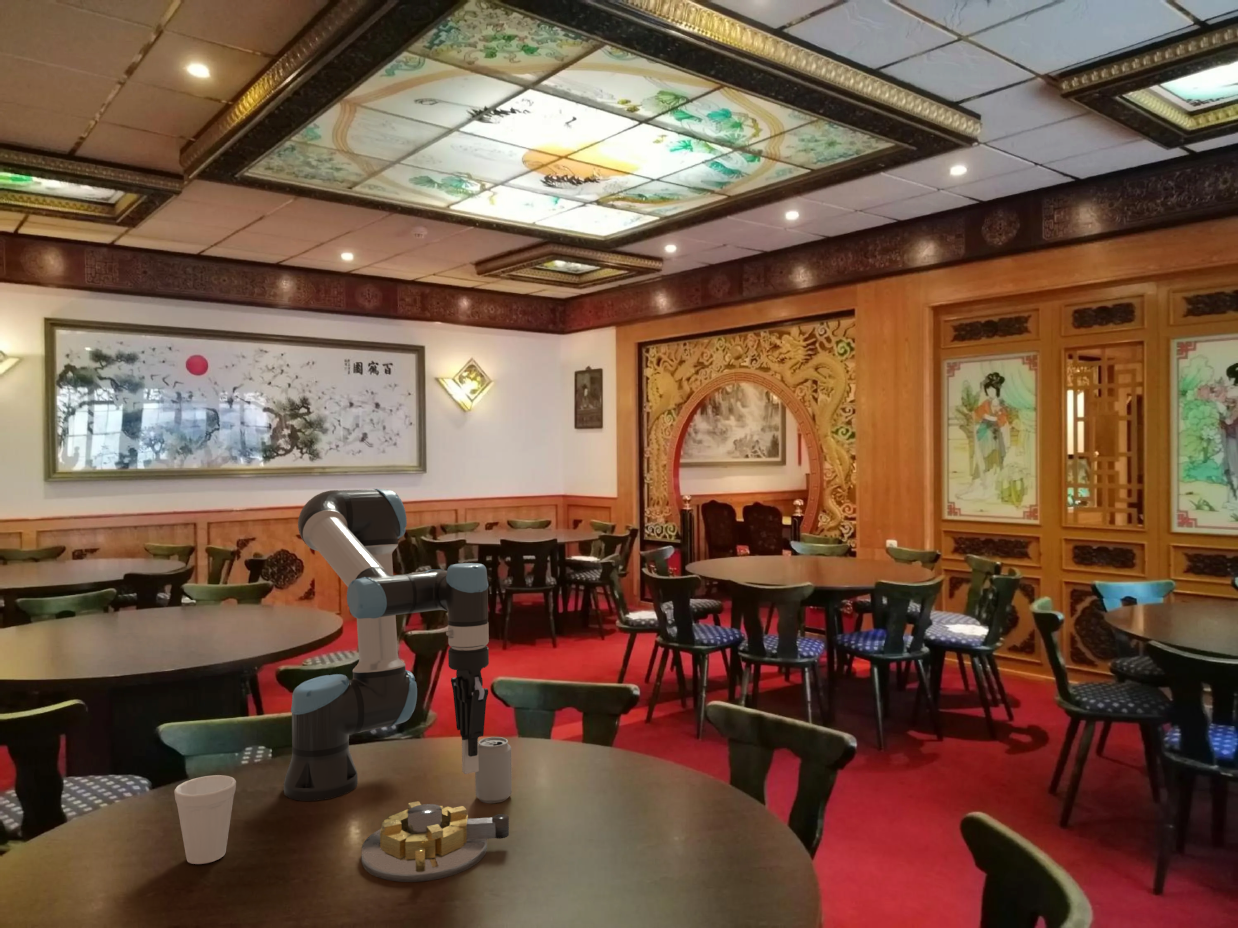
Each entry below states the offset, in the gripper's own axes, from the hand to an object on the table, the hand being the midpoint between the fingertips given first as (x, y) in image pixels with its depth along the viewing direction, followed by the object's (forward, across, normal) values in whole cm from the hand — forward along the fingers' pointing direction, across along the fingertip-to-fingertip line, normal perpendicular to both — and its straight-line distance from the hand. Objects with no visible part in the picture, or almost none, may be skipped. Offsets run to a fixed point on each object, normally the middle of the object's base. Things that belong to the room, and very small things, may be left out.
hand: (470, 771), depth 162 cm
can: (+12, -15, +11) cm, 22 cm away
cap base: (+12, +2, -10) cm, 16 cm away
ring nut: (+10, +4, -6) cm, 12 cm away
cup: (+12, -17, -44) cm, 48 cm away
